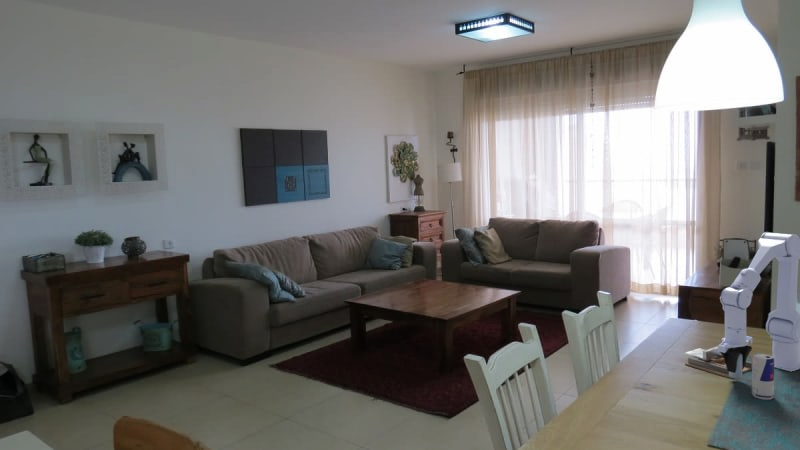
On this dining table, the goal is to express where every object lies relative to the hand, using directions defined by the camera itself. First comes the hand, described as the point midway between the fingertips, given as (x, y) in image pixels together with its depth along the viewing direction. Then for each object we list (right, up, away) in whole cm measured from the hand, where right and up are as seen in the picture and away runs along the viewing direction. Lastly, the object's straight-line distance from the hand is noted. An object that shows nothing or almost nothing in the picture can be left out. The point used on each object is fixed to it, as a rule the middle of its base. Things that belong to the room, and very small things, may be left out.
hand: (735, 370), depth 178 cm
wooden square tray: (+2, -2, +13) cm, 13 cm away
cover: (-1, +1, +18) cm, 18 cm away
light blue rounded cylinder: (0, -2, 0) cm, 2 cm away
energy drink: (+1, -5, -12) cm, 13 cm away
